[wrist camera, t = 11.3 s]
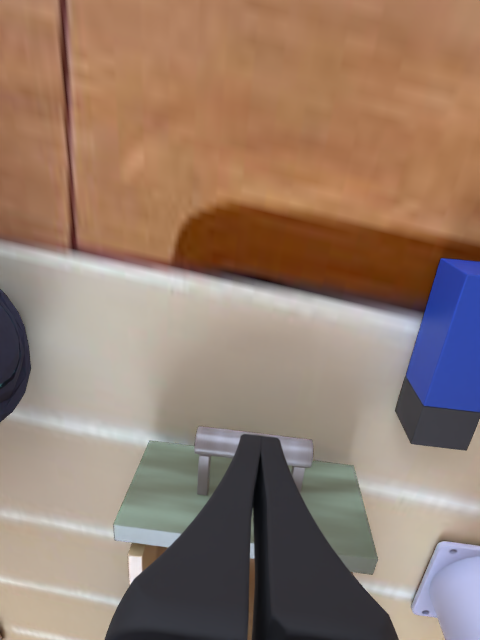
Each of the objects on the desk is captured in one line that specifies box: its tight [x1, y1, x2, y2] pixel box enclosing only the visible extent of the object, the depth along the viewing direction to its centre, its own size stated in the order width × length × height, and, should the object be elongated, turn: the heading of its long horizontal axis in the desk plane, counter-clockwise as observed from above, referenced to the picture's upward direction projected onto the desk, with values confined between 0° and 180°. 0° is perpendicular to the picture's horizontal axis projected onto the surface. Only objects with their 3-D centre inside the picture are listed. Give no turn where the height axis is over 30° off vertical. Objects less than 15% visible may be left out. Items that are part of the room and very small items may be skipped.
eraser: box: [395, 258, 480, 450], centre depth 20 cm, size 10×3×3 cm, turn 175°
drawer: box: [113, 426, 378, 640], centre depth 24 cm, size 20×13×6 cm
